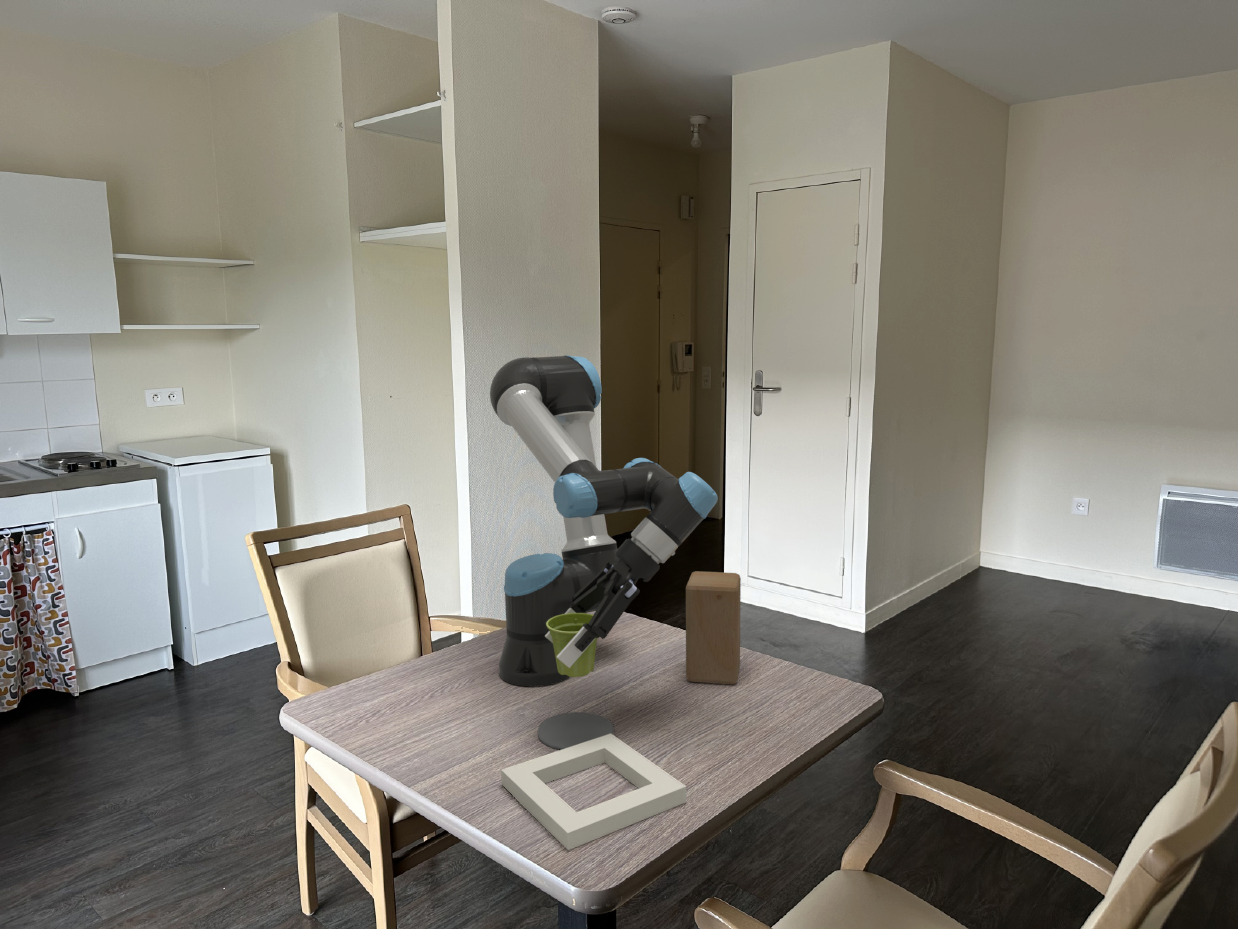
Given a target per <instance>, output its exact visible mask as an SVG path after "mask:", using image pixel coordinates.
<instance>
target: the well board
mask: <svg viewBox="0 0 1238 929" xmlns="http://www.w3.org/2000/svg"><path fill="white" fill-rule="evenodd" d="M602 764H606V765H607V766H609V767H610V768H611V769H613V770H614V771H615V772H616V773H618V774H620V776H622V777H623V778H625V779H626V780H627V781H628V782H630V784H633V785H634V787H637V789H635V790H632V791H628V792H626V793H623V794H621V795H619V796H616V797H614V798H610V799H608V800H605V801H603V802H600V803H597V804H595V805H592V806H590V807H587V808H584V809H582V810H580V811H579V810H578V811H577V810H575V809H574V808H573V807H571V806H570V805H569V804H568V803H567V802H566V801H565V800H564V799H562V797H560V796H559V795H558V794H557V793H556V792H555V791H553V790H552V789H551V788H550V786H548V785H547V784H549V783H550V782H554V781H556V780H559V779H562V778H564V777H567V776H571V775H573V774H577V773H579V772H582V771H585V770H588V769H591V768H593V767H596V766H599V765H602ZM500 774H501V775H500V776H501V786H502V785H503V786H504V787H505V788H506V789H507V790H508V791H509V792H510V793H511V794H512V795H513V796H512V795H511V794H510V793H509V792H508V791H507V790H506V789H505V788H504V787H503V786H502V787H503V788H504V789H505V790H506V791H507V792H508V793H509V794H510V795H511V796H512V797H513V798H514V797H515V798H516V799H517V801H518V803H519V804H520V805H521V806H522V807H524V809H526V810H527V812H529V813H530V814H531V815H532V816H533V818H535V820H537V821H538V822H539V824H541V825H542V826H543V827H544V828H545V829H546V830H547V831H548V833H550V834H551V835H552V836H553V837H554V839H556V840H557V841H558V842H559V843H560V844H561V846H563V847H564V848H565V849H566V850H567V851H570V850H572V849H575V848H577V847H580V846H583V845H584V844H585V845H586V844H588V843H589V842H592V841H595V840H597V839H599V838H602V837H604V836H607V835H610V834H611V833H614V832H616V831H619V830H622V829H623V828H627V827H629V826H631V825H634V824H637V823H639V822H641V821H643V820H646V819H649V818H651V817H654V816H655V815H658V814H661V813H663V812H666V811H668V810H671V809H673V808H675V807H678V806H680V805H683V804H686V803H687V786H686V785H685V784H684V783H682V782H681V781H679V779H676V778H675V777H673V776H672V775H671V774H669V773H668V772H666V771H665V770H663V769H662V767H659V766H658V765H657V764H655V763H654V762H653V761H651V760H650V759H648V758H647V757H645V756H644V755H642V754H641V753H640V752H638V751H636V750H635V749H634V748H633V747H631V746H630V745H628V744H627V743H625V742H624V741H623V740H621V739H620V738H618V737H616V736H615V735H614V734H613V735H612V734H608V735H605V736H602V737H599V738H596V739H593V740H590V741H586V742H583V743H580V744H577V745H574V746H571V747H568V748H565V749H562V750H557V751H553V752H551V753H548V754H545V755H541V756H539V757H535V758H532V759H530V760H527V761H523V762H520V763H517V764H514V765H511V766H507V767H505V768H502V769H501V770H500ZM553 780H554V781H553ZM515 798H514V799H515ZM516 799H515V800H516Z"/></svg>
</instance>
